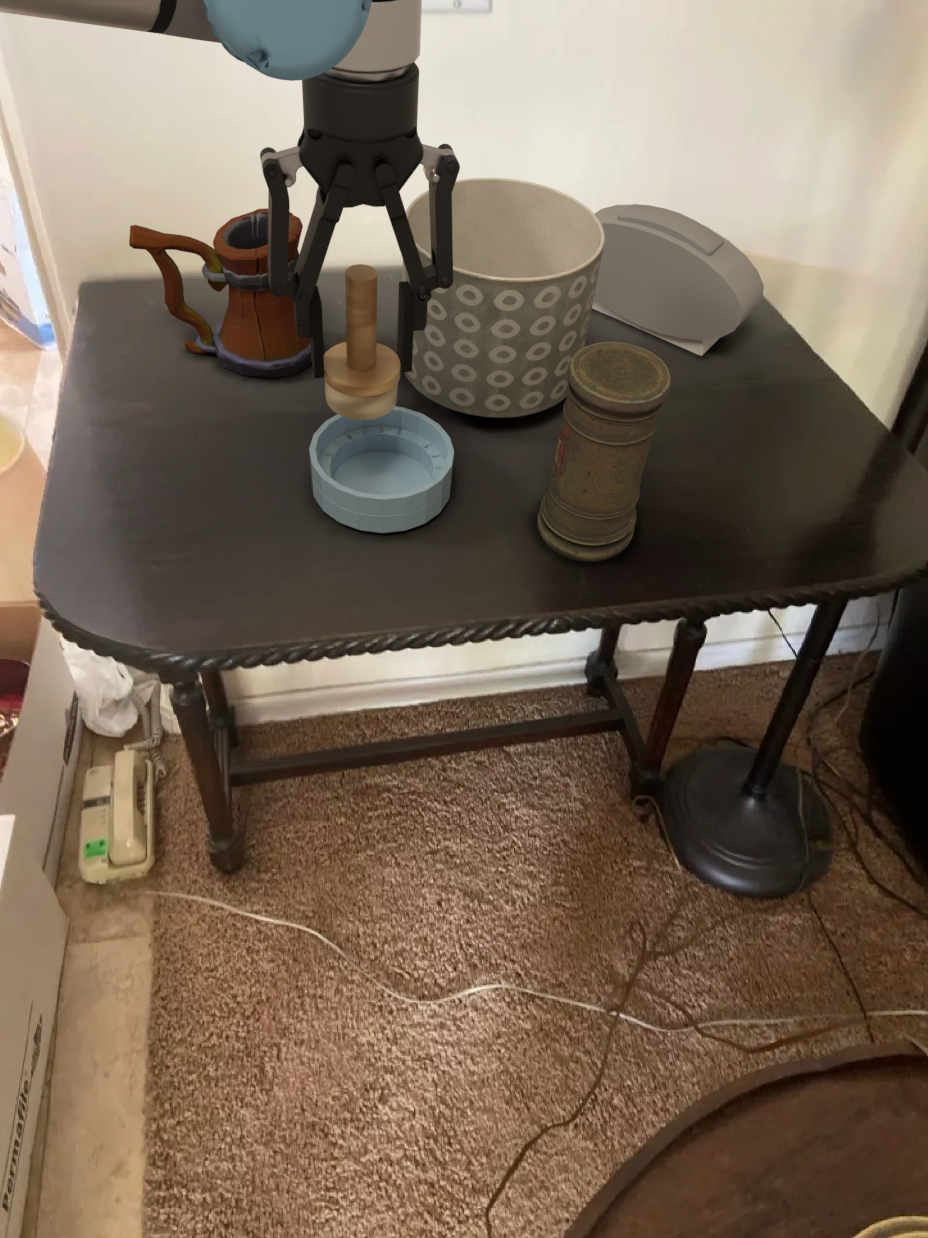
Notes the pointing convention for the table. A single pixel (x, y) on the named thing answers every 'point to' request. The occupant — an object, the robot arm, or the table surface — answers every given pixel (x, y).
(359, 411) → the brush
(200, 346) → the mug
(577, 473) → the container
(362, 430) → the bowl
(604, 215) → the alarm clock
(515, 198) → the planter
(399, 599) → the table surface
